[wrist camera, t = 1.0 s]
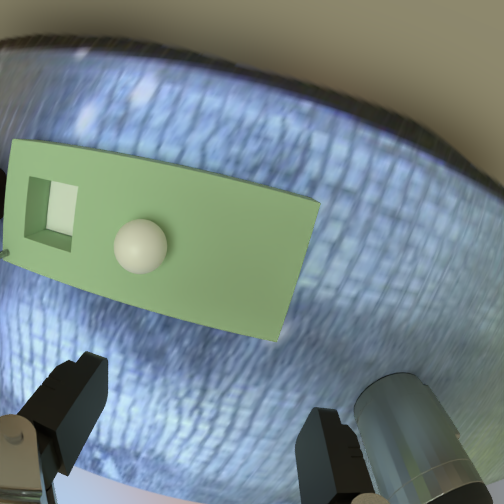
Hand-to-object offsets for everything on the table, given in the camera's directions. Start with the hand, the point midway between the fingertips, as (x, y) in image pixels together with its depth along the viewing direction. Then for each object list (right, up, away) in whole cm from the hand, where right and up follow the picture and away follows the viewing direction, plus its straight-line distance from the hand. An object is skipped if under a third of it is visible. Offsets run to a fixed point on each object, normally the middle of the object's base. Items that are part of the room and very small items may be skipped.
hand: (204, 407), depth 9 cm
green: (-8, +7, +19) cm, 22 cm away
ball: (-7, +5, +13) cm, 16 cm away
